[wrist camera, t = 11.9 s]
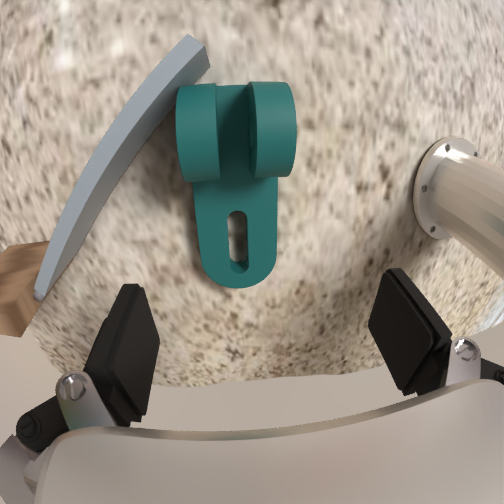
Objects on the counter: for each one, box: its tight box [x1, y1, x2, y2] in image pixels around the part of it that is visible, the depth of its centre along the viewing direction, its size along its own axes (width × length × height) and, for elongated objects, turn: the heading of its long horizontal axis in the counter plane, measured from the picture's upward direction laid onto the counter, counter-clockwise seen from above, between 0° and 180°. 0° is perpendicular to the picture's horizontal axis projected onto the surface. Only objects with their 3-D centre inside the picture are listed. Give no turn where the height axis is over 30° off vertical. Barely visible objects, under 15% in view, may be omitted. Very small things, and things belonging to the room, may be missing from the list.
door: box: [33, 34, 210, 302], centre depth 17 cm, size 22×1×8 cm, turn 137°
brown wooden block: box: [0, 241, 74, 337], centre depth 19 cm, size 10×2×12 cm, turn 91°
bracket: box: [176, 82, 297, 288], centre depth 20 cm, size 18×7×8 cm, turn 1°
